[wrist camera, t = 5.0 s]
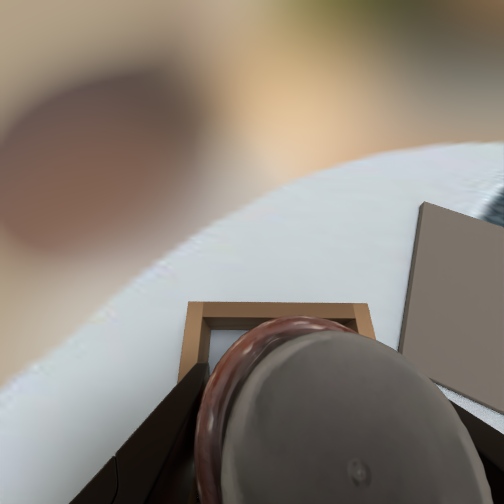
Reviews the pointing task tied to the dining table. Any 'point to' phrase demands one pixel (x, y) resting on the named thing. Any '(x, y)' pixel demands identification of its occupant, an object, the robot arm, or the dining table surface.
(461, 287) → the grey-brown square block
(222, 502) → the supplement bottle
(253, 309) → the walnut box
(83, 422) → the dining table surface
